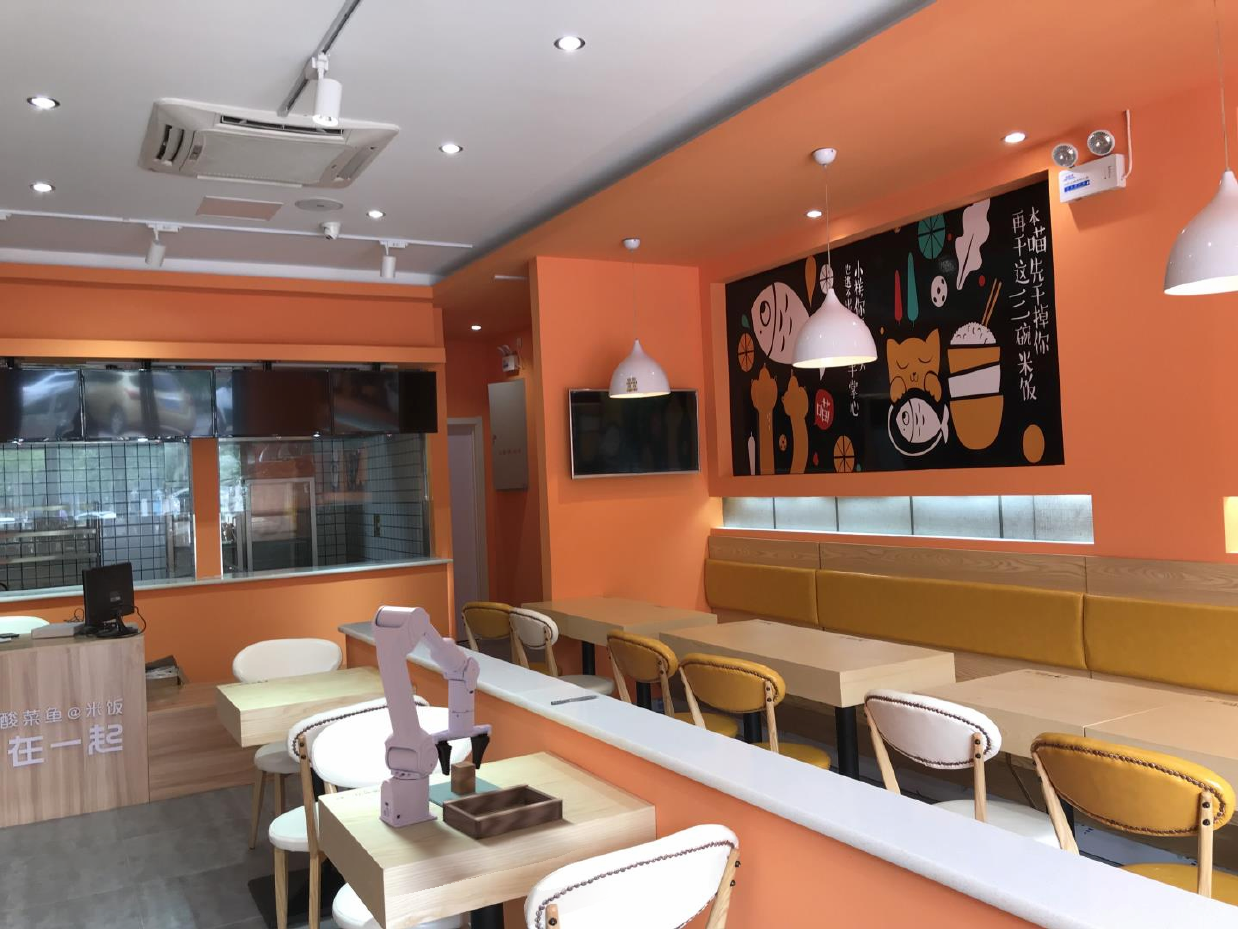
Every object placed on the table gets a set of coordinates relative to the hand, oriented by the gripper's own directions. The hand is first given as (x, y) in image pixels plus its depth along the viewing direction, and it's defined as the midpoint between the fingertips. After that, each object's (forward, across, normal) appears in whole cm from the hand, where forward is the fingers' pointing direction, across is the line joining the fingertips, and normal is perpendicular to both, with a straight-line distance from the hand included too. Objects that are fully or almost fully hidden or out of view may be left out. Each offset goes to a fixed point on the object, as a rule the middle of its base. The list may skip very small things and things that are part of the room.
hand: (461, 771), depth 216 cm
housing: (+5, -2, -21) cm, 22 cm away
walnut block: (+4, 0, -1) cm, 4 cm away
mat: (+5, 0, 0) cm, 5 cm away
